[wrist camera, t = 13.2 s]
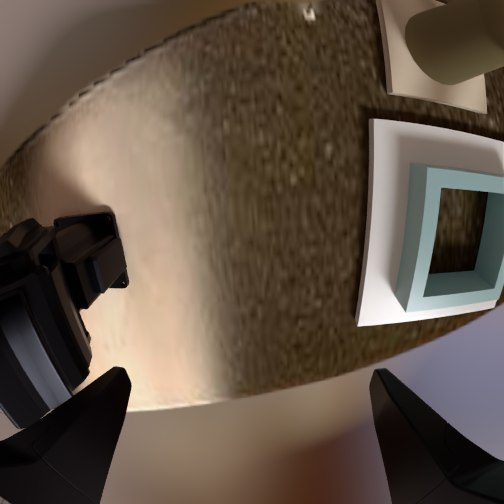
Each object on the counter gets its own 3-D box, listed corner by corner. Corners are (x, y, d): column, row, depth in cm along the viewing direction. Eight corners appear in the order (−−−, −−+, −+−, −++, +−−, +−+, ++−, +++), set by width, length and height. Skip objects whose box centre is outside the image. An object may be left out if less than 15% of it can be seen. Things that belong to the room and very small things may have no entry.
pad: (387, 93, 16) (392, 92, 15) (373, -11, 13) (377, -16, 12) (479, 113, 16) (486, 113, 15) (466, 18, 12) (472, 15, 11)
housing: (354, 319, 23) (365, 345, 20) (368, 119, 17) (388, 117, 14) (489, 302, 22) (506, 320, 19) (517, 146, 16) (542, 152, 13)
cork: (435, 97, 15) (552, 92, 5) (388, 25, 13) (479, -37, 3) (480, 71, 14) (583, 64, 3) (439, 5, 12) (527, -38, 2)
